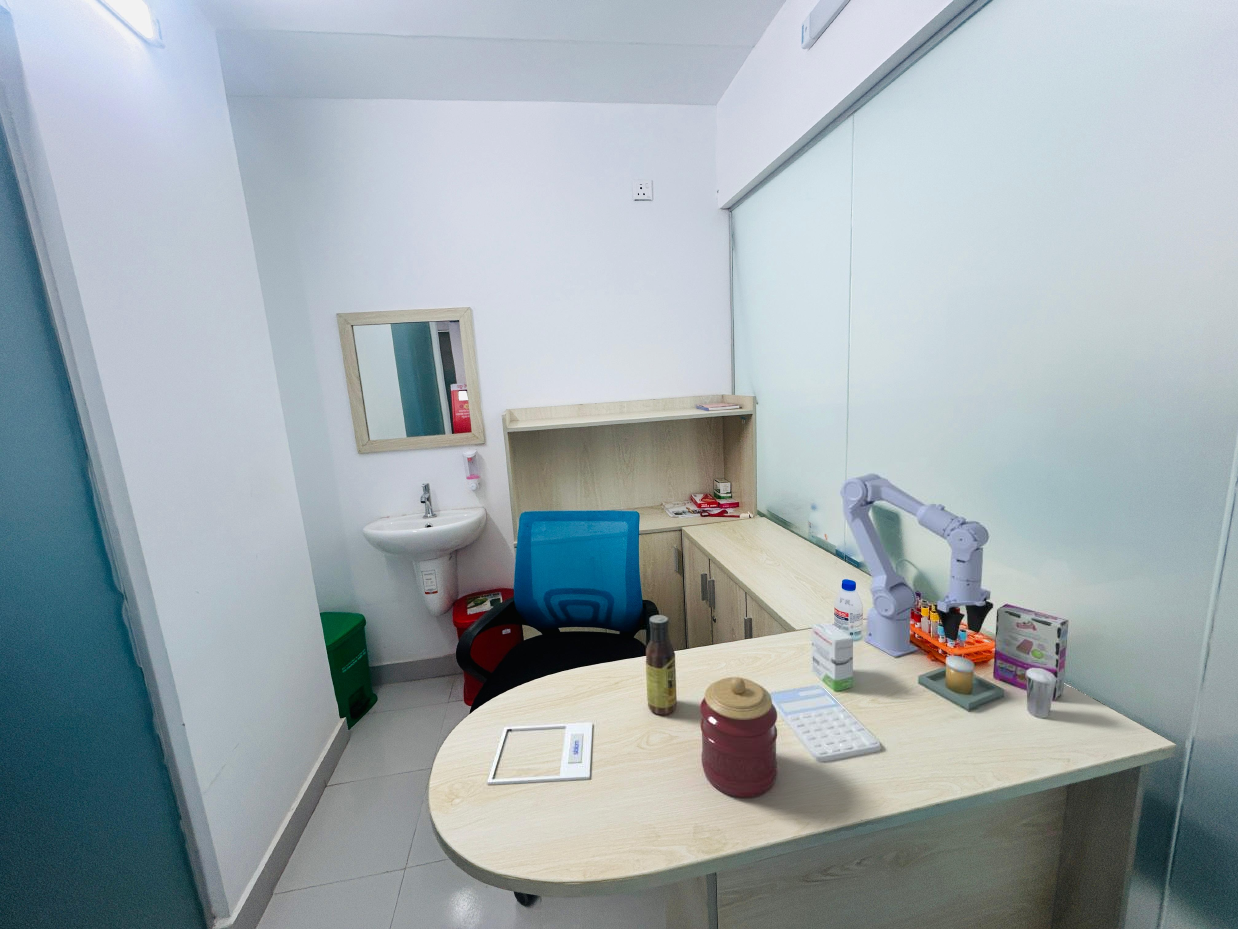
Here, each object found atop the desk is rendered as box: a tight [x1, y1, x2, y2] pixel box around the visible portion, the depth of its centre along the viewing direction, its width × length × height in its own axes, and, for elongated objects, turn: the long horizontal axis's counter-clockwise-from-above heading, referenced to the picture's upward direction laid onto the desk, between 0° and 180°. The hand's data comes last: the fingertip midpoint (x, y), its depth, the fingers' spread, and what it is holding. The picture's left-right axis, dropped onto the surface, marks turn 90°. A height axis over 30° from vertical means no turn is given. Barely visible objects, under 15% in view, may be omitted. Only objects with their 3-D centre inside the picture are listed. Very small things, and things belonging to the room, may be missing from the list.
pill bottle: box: [945, 655, 975, 695], centre depth 108 cm, size 5×5×6 cm
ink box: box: [811, 622, 854, 692], centre depth 114 cm, size 9×5×12 cm, turn 14°
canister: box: [699, 676, 778, 799], centre depth 88 cm, size 13×13×18 cm
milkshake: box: [1026, 668, 1063, 719], centre depth 99 cm, size 4×5×10 cm
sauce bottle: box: [645, 614, 677, 716], centre depth 106 cm, size 7×6×20 cm
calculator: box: [768, 684, 882, 763], centre depth 101 cm, size 13×20×2 cm, turn 11°
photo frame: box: [486, 721, 593, 786], centre depth 96 cm, size 15×1×18 cm
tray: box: [917, 665, 1005, 712], centre depth 108 cm, size 11×11×2 cm
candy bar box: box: [992, 603, 1069, 702], centre depth 108 cm, size 11×5×16 cm, turn 33°
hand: (962, 634), depth 113 cm, fingers open, 7 cm apart
